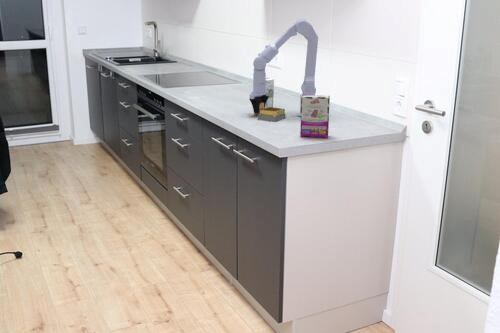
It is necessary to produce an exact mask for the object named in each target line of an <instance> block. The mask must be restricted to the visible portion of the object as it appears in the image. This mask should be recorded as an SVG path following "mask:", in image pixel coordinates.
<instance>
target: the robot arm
mask: <svg viewBox="0 0 500 333" xmlns="http://www.w3.org/2000/svg"><path fill="white" fill-rule="evenodd" d="M298 34H300V35H301V36H303V37H304V39H305V40H306V41H307V46H306V58H305V68H304V75H303V76H304V78H303V81H302V82H303V83H302V84H301V85H300V86H301V87H300V89H301V93H302V94H300V101H299V105H300V106H299V113H298V114H296V117H301V97H302V95H316V93H317V89H316V88H317V87H316V86H315V84H316V82H315V81H316V79H315V78H316V77H315V76H316V66H317V54H318V47H319V46H318V44H319V37H318V36H319V35H318V34H317V32H316V31H315V29H314V27H313V25H312V24H311V23H310V22H309V21H308V20H306V18H305V19H304V18H299V19H298V20H296V21H295V22H294V23H293V24H291V25H289V27H288V28H287V29H286V30H285V31H284V32H283V33H282V35H281V36H279V37H278V38H277V40H275V42H274V43H269V44H266V45H265V46H264V49H263V50H262V51H261V52H260V53H258V54H257V56H256V57H255V58H254V60H253V62H252V64H253V65H252V66H253V73H252V76H253V77H252V79H253V80H252V84H253V85H252V91H251V92H250V94H249V101H250V104H251V106H252V111H253V114H254V113H259V106H260V102H264V108H265V105H266V102H267V100H268V98H269V96H266V95H268V94H269V91H268V90H265V86H266V78H267V76H266V75H267V74H266V67H267V64H269V63H271V61H272V60H273V59H274V58H275V57H277V55H278V54H279V49H280V48H281V47H282V46H283V45H284V44H285V43H286V42H287V41H288V40H289V39H290V38H291V37H295V36H298Z"/></svg>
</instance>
